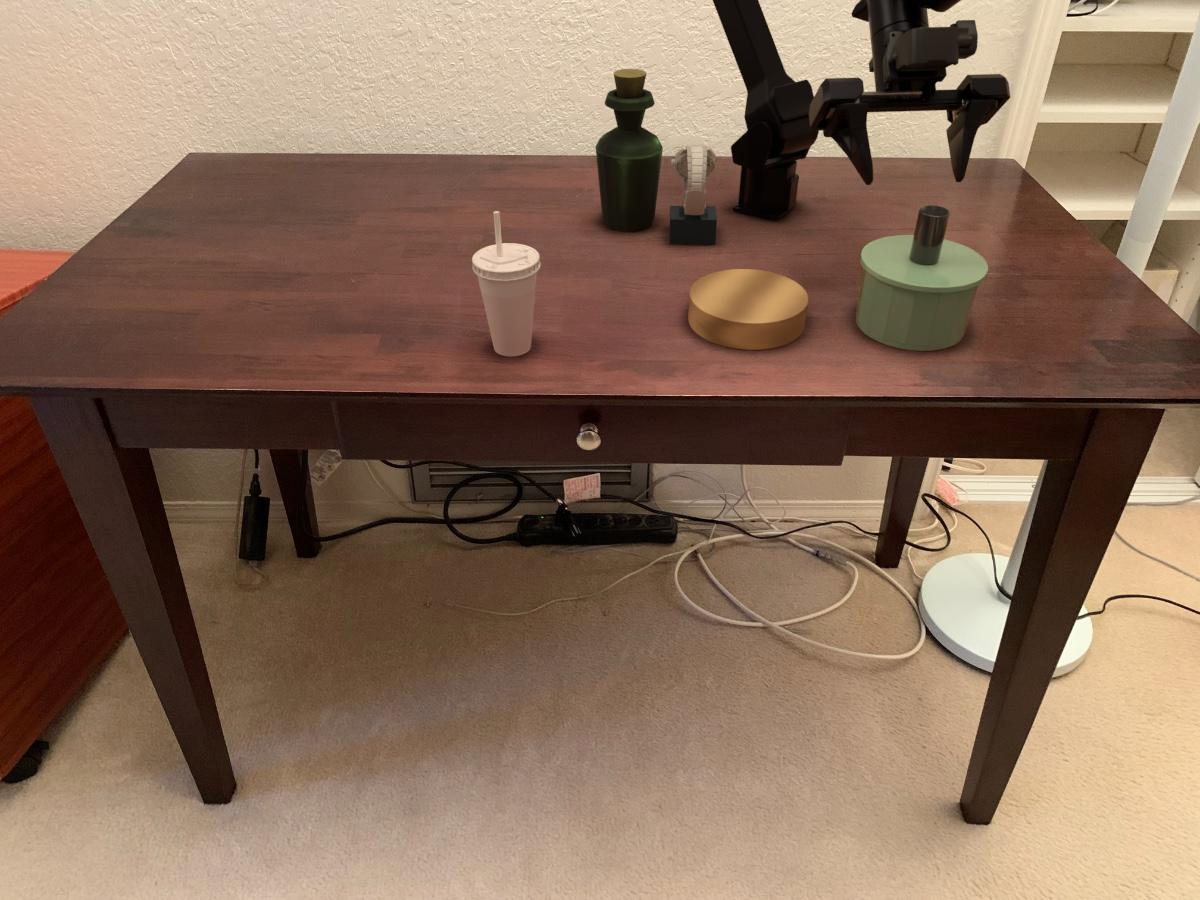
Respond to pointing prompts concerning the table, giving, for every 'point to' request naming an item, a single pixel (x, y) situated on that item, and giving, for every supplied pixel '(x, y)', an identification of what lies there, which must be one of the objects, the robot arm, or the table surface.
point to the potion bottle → (629, 157)
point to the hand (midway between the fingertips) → (915, 181)
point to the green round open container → (912, 315)
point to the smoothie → (508, 291)
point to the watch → (693, 198)
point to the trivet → (747, 309)
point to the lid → (925, 257)
